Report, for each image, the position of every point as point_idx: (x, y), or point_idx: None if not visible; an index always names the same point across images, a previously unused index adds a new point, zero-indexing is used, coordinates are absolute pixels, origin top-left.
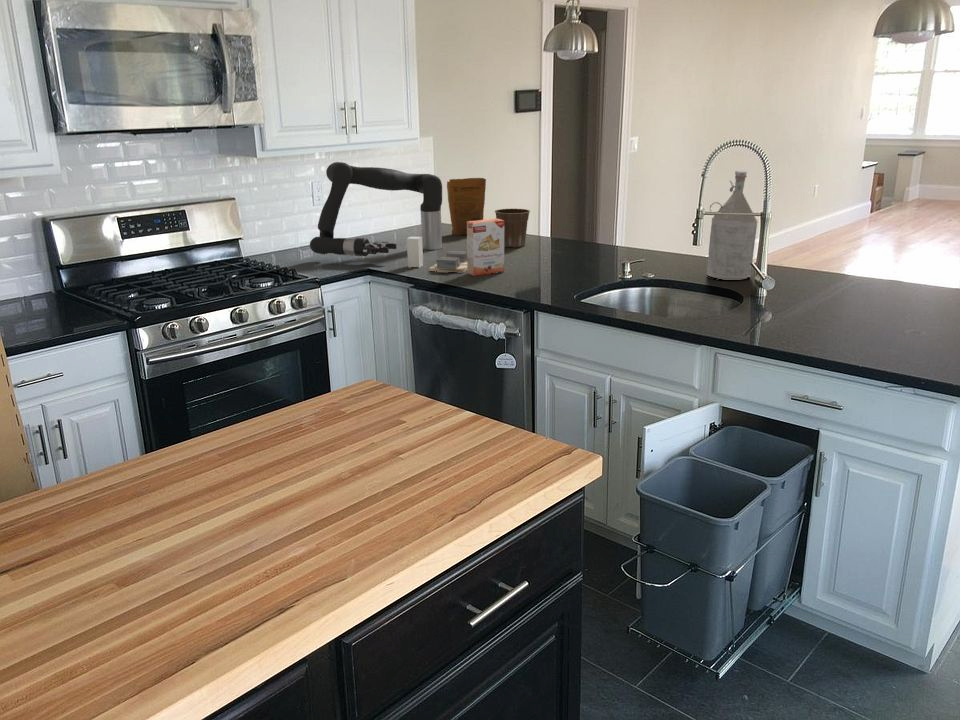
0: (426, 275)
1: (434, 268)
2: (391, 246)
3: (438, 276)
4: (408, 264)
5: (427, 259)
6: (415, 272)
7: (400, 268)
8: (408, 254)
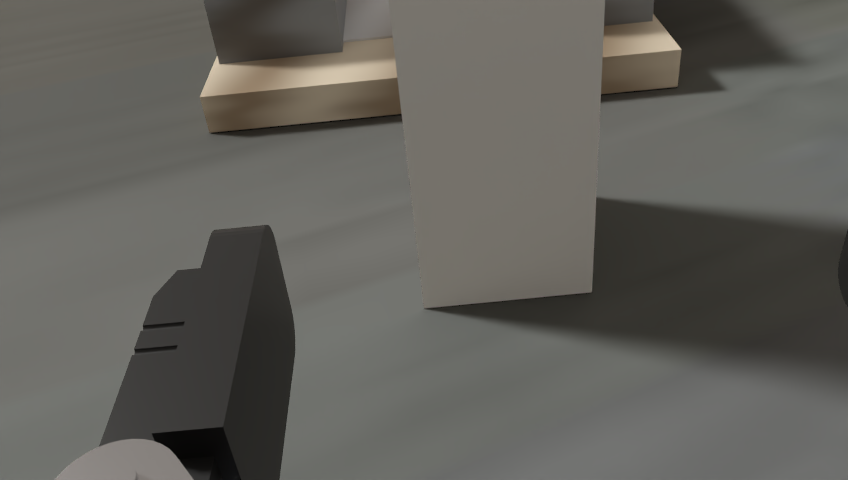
0: (837, 61)
1: (666, 31)
2: (267, 379)
3: (797, 13)
4: (592, 250)
5: (21, 287)
6: (799, 148)
7: (717, 346)
8: (595, 100)
